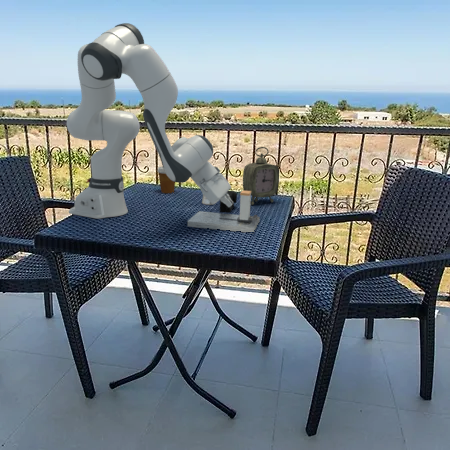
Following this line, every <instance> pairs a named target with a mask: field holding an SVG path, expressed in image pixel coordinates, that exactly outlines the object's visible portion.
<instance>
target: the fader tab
mask: <svg viewBox="0 0 450 450" xmlns="http://www.w3.org/2000/svg"><path fill="white" fill-rule="evenodd" d="M239 195H240V200H239V201H240V202H239V215H240V216H239V217H238V218H237V221H246V222H251V220H252V218H251V217H250V216H251V201H252V200H251V199H252V196H251V191H244V190H242V191H241V192H240V193H239Z"/></svg>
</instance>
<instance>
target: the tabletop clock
mask: <svg viewBox="0 0 450 450" xmlns="http://www.w3.org/2000/svg"><path fill="white" fill-rule="evenodd" d="M260 149H265V150H266V152H267V153H265V154H263V153H260V154H258V153H257V152H258V150H260ZM254 152H255V153H254V154H255V155H256V156H257V158H256V160H255V162H250V163H247V164H246V165H245V166H244V168H243V173H242V191H251V199H252V200H251V202H250V206H253V205H254V204H255V202H256V203H257V202H258V198H267V197H268V198H269V201H270V203H273V202H274V199H273V198H271V197H273V196H274V195H275V196H276V194H277V192H278V188H279V183H280V170H279V166H278V165H276V164H272V163H268V161H267V159H266V158H265V157H266V156H268V154H269V148H267V147H266V146H260V147H257V148H256V149H255V151H254Z"/></svg>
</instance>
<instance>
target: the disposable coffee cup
mask: <svg viewBox="0 0 450 450" xmlns="http://www.w3.org/2000/svg"><path fill="white" fill-rule="evenodd" d="M156 171H157V173H158V179H159V185H160V187H159V188H160V192H161V193H162V194H173V193H175V188H176V187H175V186H176V182H173V181H172V180H170V179H169V177H168V176H167V175H166V173H165V171H164V169H163V166H158V168H157V170H156ZM172 192H173V193H172Z"/></svg>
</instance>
